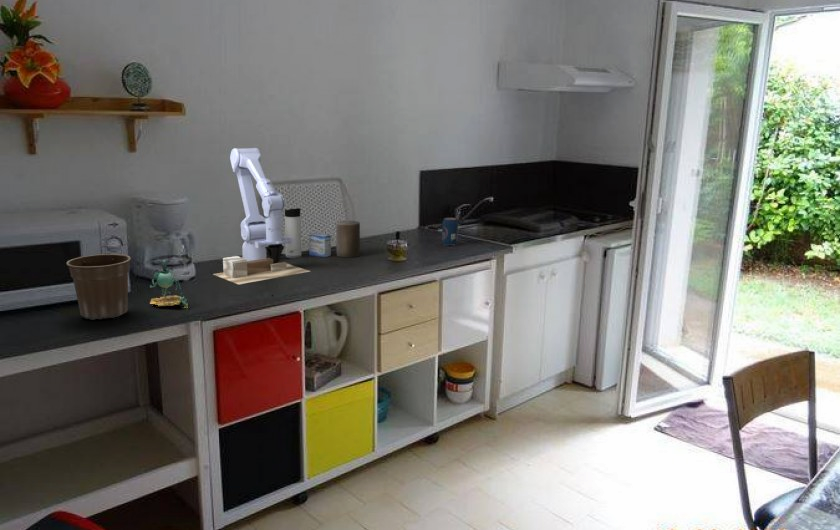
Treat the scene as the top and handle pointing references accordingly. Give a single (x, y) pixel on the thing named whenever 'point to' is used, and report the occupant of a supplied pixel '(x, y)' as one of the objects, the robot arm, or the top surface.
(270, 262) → the slat
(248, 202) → the robot arm
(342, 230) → the pillar candle
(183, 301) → the frog figurine
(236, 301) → the top surface
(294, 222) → the travel mug
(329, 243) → the medicine box
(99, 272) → the plant pot
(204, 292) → the top surface
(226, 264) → the slat board
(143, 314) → the top surface
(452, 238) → the soda can
